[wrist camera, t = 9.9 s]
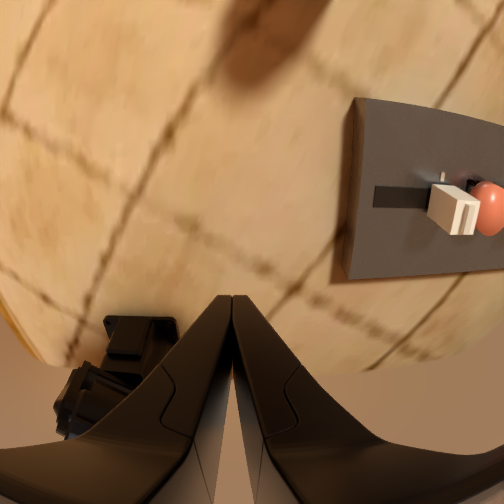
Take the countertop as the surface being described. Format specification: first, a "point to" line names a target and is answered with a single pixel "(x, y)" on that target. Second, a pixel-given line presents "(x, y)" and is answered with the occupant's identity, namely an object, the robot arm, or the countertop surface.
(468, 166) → the panel
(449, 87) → the countertop surface
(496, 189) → the red push button
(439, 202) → the ivory slide knob
